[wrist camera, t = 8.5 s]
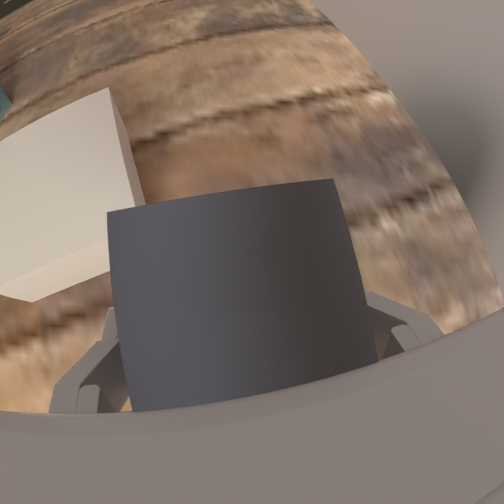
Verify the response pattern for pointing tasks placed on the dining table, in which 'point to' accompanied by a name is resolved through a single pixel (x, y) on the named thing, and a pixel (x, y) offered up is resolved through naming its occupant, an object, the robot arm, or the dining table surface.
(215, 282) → the slate block
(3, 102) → the cake mix box
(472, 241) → the dining table surface
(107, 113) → the painted box
